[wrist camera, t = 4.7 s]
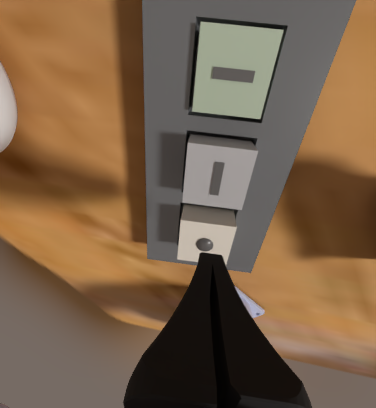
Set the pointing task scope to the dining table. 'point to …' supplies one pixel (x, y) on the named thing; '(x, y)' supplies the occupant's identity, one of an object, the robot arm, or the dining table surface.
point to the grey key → (218, 171)
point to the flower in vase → (7, 110)
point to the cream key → (205, 232)
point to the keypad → (222, 124)
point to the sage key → (234, 69)
